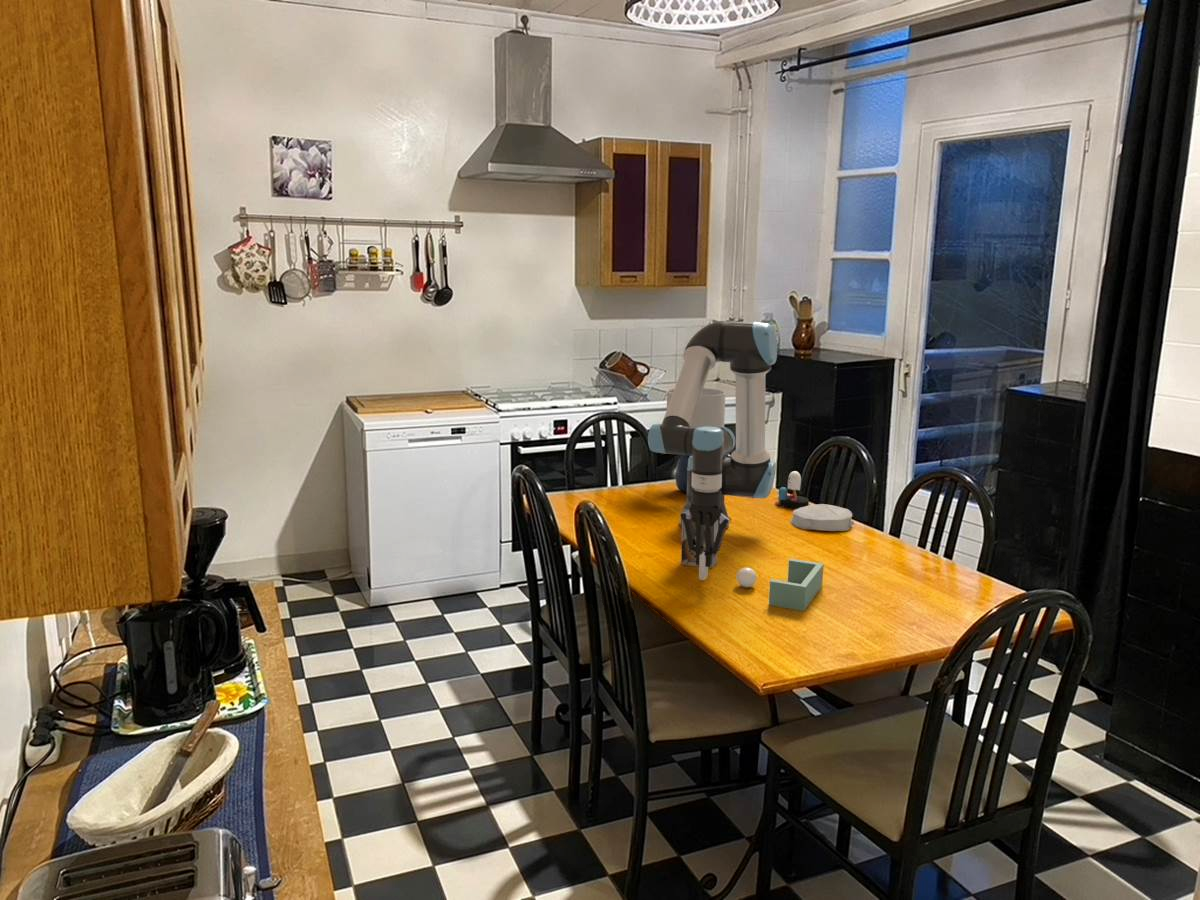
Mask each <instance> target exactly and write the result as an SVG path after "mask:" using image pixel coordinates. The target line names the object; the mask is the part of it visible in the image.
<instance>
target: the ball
mask: <svg viewBox="0 0 1200 900" xmlns="http://www.w3.org/2000/svg"><path fill="white" fill-rule="evenodd" d="M757 579H758V576H757V573H756V572H755V570H754V569H752V568H751V567H743V568H741V569H740V570H738V572H737V574H736V581H737V583H738V584H739V585H740V586H741V587H743V588H751V587H753V586H755V585H756V583H757Z"/></svg>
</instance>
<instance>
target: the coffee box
mask: <svg viewBox="0 0 1200 900" xmlns="http://www.w3.org/2000/svg"><path fill="white" fill-rule="evenodd" d="M685 504H686V503H685ZM685 504H684V506H683V507H682V508H681V514H682V513H683V512H685V511H688V510H689V508H690V506H691V503H689V502H688V503H687V504H686V505H685ZM691 516H692V515H691ZM691 520H692V524H693V529H694V534H695V539H696V521H695V520H694V518H693V517H691ZM718 524H719V519H718V520H717V521H716V522H715V523H714V534H713V546H714V543H715V539H716V536H717V532H718ZM705 546H706V529H705V526H704V544H703V549H704V550H703V552H705ZM718 552H719V551H718ZM718 552H717V553H716V554H712V565H711V566H710V567H708V569H709V568H710V569H713V568H714V567H716V565H717V563H718V559H719V558H718V557H719V556H718V555H719V554H718ZM680 556H681V557H680V558H681V559H680V560H681V561H680V565H682V566H692V567H699V565H696V552H694V551H693V550H692V551H691V550H690V549H689V545H688V540H687V535H686V530H685V525H684V522H683V520H682V526H681V555H680Z"/></svg>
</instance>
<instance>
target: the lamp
mask: <svg viewBox="0 0 1200 900" xmlns="http://www.w3.org/2000/svg"><path fill="white" fill-rule="evenodd" d="M674 389H675V388H671V389H667V390H666V409H667V408H668V405H669V403H670V400H671V397H672V394H673V392H674ZM725 411H726V391H725V390H721V389H716V388H707V387H704V388H703V391H702V394H701V397H700V400H699V403H698V405H697V408H696V411H695V414H694V417H693V420H692V423H691V426H690V427H697V428H698V427H706V426H708V427H725V418H726V417H725V416H726V415H725V414H726V413H725ZM689 457H690V456H689V455H681V456H680V457H679V458H678V461H677V464H676V469H675V485H676V487H677V489H679V491H680V492H682V493H683V494H687V468H688V459H689Z"/></svg>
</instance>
